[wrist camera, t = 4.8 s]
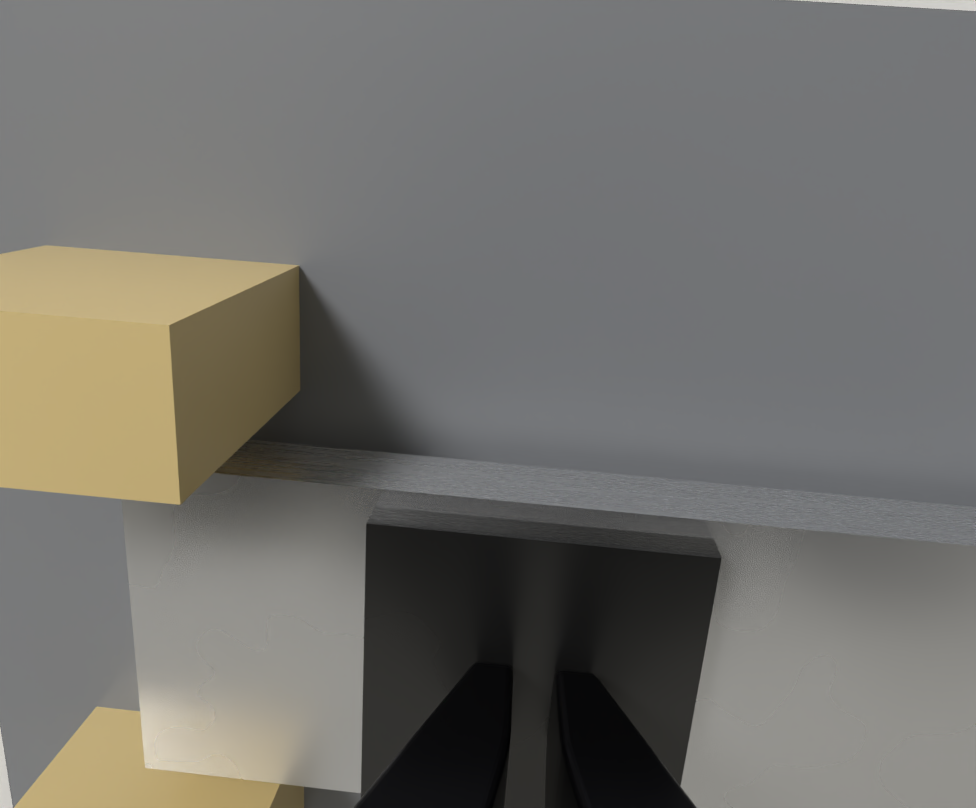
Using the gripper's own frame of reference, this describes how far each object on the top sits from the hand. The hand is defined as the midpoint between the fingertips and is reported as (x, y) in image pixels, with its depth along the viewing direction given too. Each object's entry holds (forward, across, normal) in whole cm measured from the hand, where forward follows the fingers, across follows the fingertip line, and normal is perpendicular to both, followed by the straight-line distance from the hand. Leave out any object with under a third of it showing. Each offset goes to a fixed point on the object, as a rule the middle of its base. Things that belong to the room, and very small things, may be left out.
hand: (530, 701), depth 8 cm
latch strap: (+1, -14, 0) cm, 14 cm away
